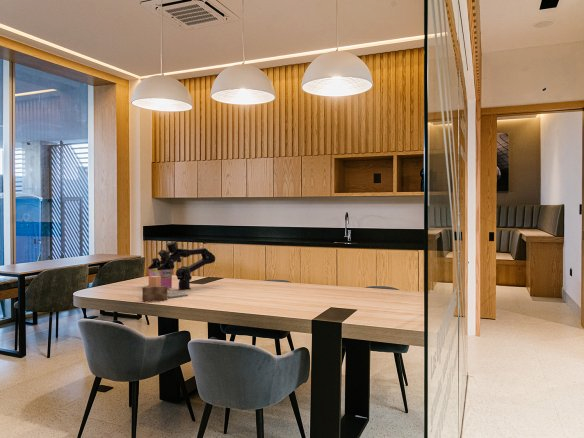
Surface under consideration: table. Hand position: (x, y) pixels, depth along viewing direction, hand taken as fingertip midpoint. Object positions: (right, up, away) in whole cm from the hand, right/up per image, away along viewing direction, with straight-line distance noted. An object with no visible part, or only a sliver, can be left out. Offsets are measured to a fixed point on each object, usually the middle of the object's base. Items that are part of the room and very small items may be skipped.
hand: (152, 269), depth 288 cm
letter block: (+5, -16, -11) cm, 20 cm away
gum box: (-4, -16, +28) cm, 33 cm away
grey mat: (+15, -16, -5) cm, 23 cm away
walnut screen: (+7, -16, -20) cm, 27 cm away
